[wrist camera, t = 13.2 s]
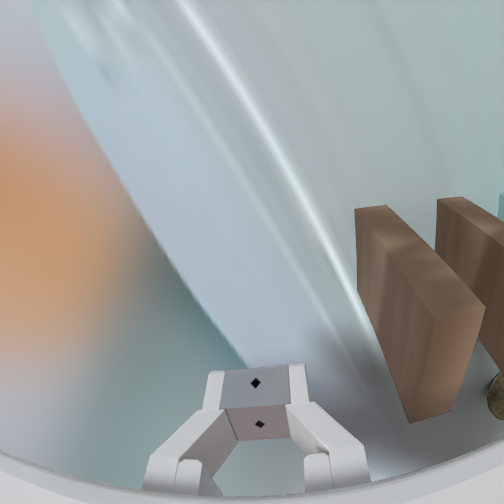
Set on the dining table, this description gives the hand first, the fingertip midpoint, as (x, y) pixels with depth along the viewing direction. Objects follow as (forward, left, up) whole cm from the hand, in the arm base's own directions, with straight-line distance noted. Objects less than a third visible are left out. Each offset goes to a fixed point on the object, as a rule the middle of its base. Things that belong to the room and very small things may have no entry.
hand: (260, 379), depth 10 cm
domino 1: (0, -6, -9) cm, 11 cm away
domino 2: (0, -11, -9) cm, 14 cm away
